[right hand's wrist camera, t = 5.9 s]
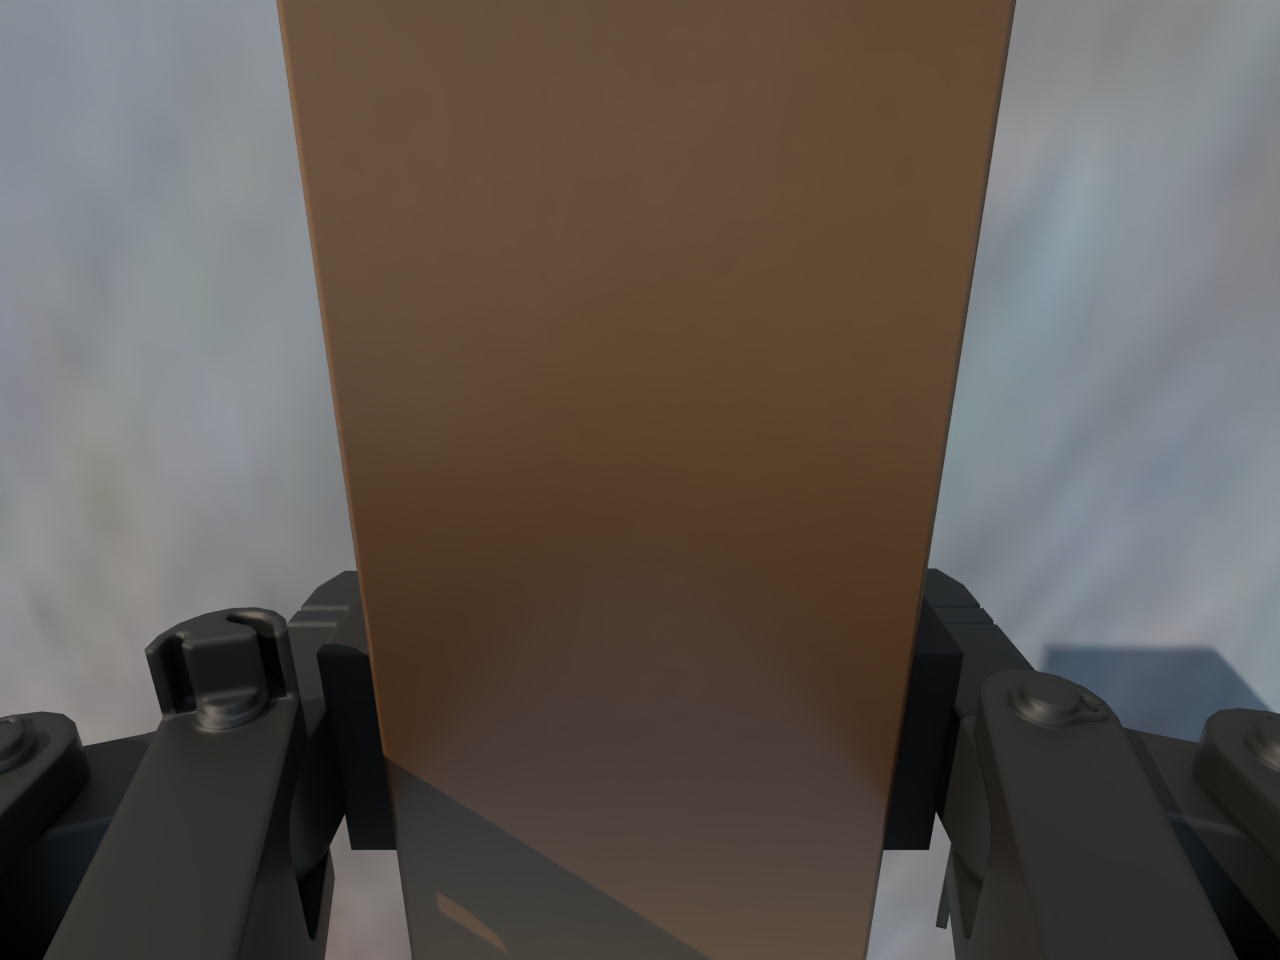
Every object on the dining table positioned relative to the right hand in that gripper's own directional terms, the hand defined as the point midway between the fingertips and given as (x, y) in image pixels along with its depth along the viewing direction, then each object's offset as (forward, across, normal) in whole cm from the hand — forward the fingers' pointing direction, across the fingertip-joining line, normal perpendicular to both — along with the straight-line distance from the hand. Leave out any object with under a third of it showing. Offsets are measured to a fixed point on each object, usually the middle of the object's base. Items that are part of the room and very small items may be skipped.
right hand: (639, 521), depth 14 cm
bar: (0, 0, -34) cm, 34 cm away
